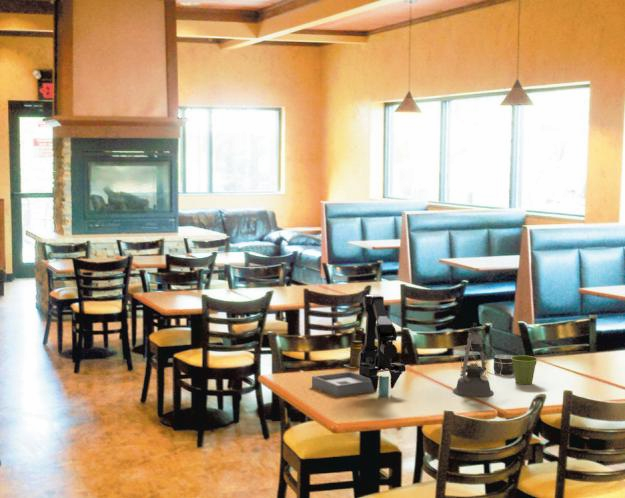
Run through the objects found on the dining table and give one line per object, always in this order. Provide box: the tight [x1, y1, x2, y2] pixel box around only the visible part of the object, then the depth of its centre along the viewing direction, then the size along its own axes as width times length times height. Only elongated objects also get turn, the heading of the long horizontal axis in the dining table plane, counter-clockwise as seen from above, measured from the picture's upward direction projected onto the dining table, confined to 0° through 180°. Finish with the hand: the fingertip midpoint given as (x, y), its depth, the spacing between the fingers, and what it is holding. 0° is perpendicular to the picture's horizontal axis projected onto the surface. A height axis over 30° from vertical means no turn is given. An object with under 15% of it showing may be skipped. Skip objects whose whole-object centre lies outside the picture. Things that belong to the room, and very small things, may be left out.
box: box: [311, 371, 376, 397], centre depth 419 cm, size 20×20×4 cm
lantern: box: [452, 322, 502, 399], centre depth 413 cm, size 18×20×30 cm
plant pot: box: [511, 355, 539, 385], centre depth 434 cm, size 12×12×11 cm
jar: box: [493, 354, 514, 376], centre depth 454 cm, size 10×10×8 cm
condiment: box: [343, 339, 363, 369], centre depth 465 cm, size 7×8×12 cm
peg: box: [378, 375, 390, 398], centre depth 408 cm, size 4×4×8 cm
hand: (383, 389), depth 408 cm, fingers open, 8 cm apart
